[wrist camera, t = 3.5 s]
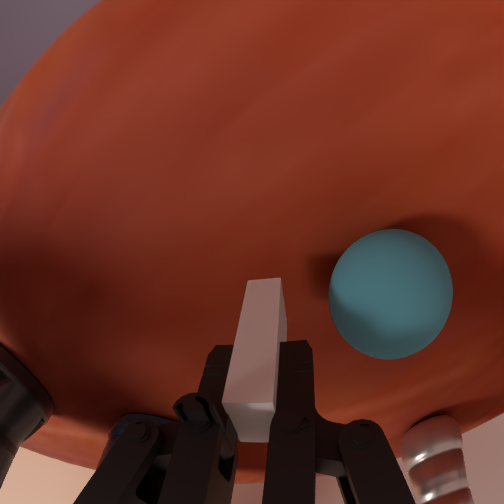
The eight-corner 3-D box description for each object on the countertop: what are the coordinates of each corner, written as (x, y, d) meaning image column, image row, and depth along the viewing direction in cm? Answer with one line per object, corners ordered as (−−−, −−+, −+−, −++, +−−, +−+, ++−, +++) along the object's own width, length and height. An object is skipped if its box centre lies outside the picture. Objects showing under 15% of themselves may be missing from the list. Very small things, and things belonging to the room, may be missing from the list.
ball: (324, 311, 17) (336, 394, 12) (317, 215, 15) (337, 285, 9) (418, 298, 16) (454, 371, 11) (428, 204, 14) (489, 262, 8)
